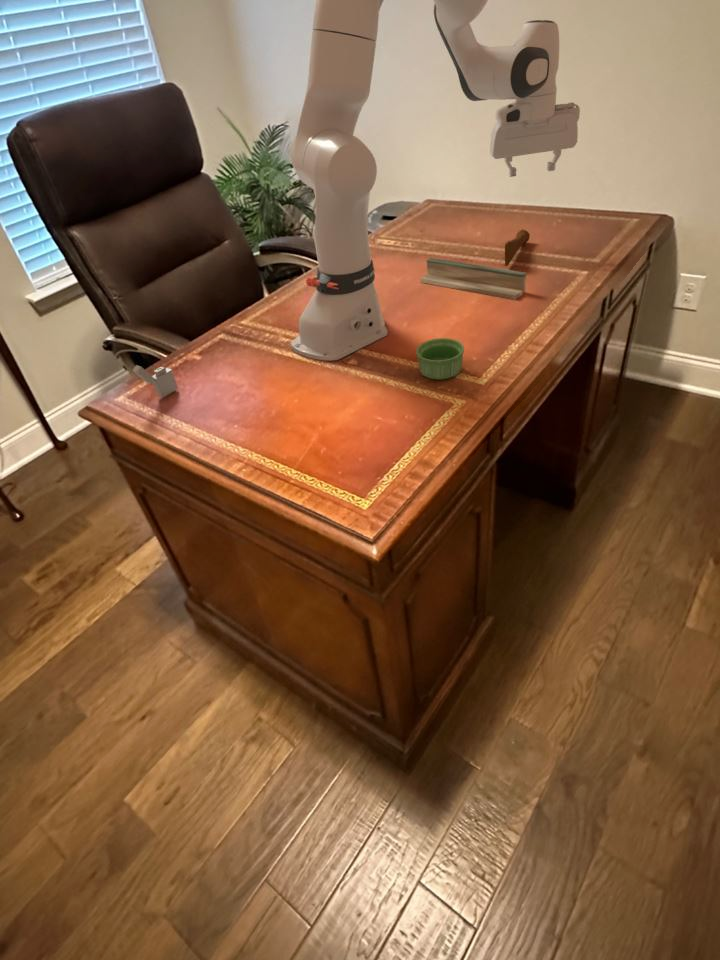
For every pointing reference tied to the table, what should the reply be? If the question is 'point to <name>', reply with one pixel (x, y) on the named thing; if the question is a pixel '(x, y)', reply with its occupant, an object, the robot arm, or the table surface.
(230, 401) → the table surface
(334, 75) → the robot arm
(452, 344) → the ramekin
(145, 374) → the lighter
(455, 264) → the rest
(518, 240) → the primitive tool
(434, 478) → the table surface
